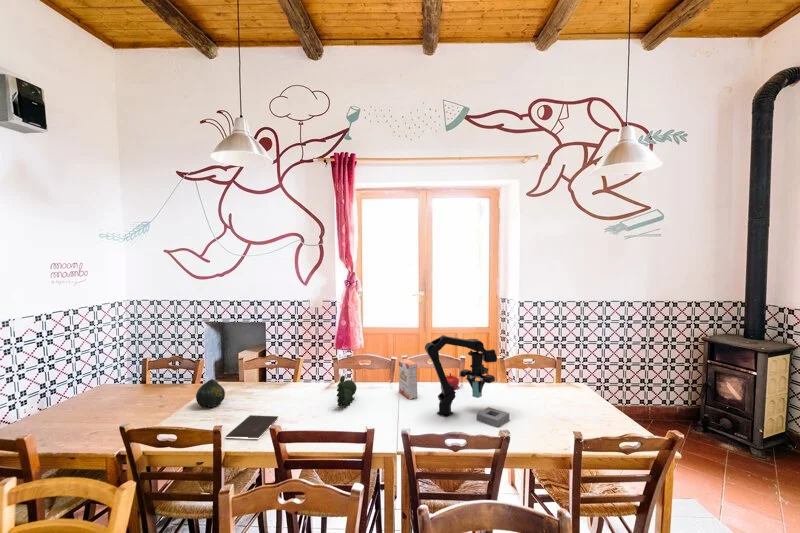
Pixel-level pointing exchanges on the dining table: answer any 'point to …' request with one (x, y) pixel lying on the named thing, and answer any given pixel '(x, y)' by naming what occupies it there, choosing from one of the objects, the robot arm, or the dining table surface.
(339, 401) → the toy figurine
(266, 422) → the hardcover book
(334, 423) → the dining table surface
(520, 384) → the dining table surface
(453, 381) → the pomegranate
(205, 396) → the squash
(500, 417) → the socket block
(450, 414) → the robot arm
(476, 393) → the teal rectangular block
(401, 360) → the cracker box
